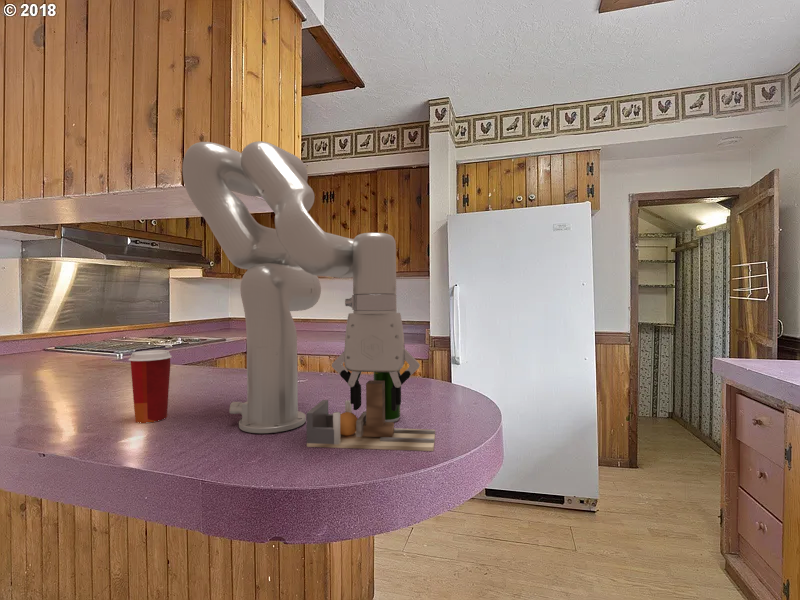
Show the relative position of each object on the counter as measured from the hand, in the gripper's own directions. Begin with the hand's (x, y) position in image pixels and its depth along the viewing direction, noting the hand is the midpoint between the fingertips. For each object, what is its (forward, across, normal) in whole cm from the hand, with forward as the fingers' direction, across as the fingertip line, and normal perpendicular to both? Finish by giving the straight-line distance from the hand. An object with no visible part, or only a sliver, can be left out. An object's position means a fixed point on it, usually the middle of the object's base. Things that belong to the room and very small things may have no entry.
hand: (375, 407), depth 71 cm
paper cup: (+6, -49, +8) cm, 50 cm away
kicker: (+5, 0, 0) cm, 5 cm away
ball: (+3, -5, 0) cm, 6 cm away
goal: (+6, -8, 0) cm, 10 cm away
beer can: (+6, 0, +12) cm, 13 cm away
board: (+6, 0, 0) cm, 6 cm away
